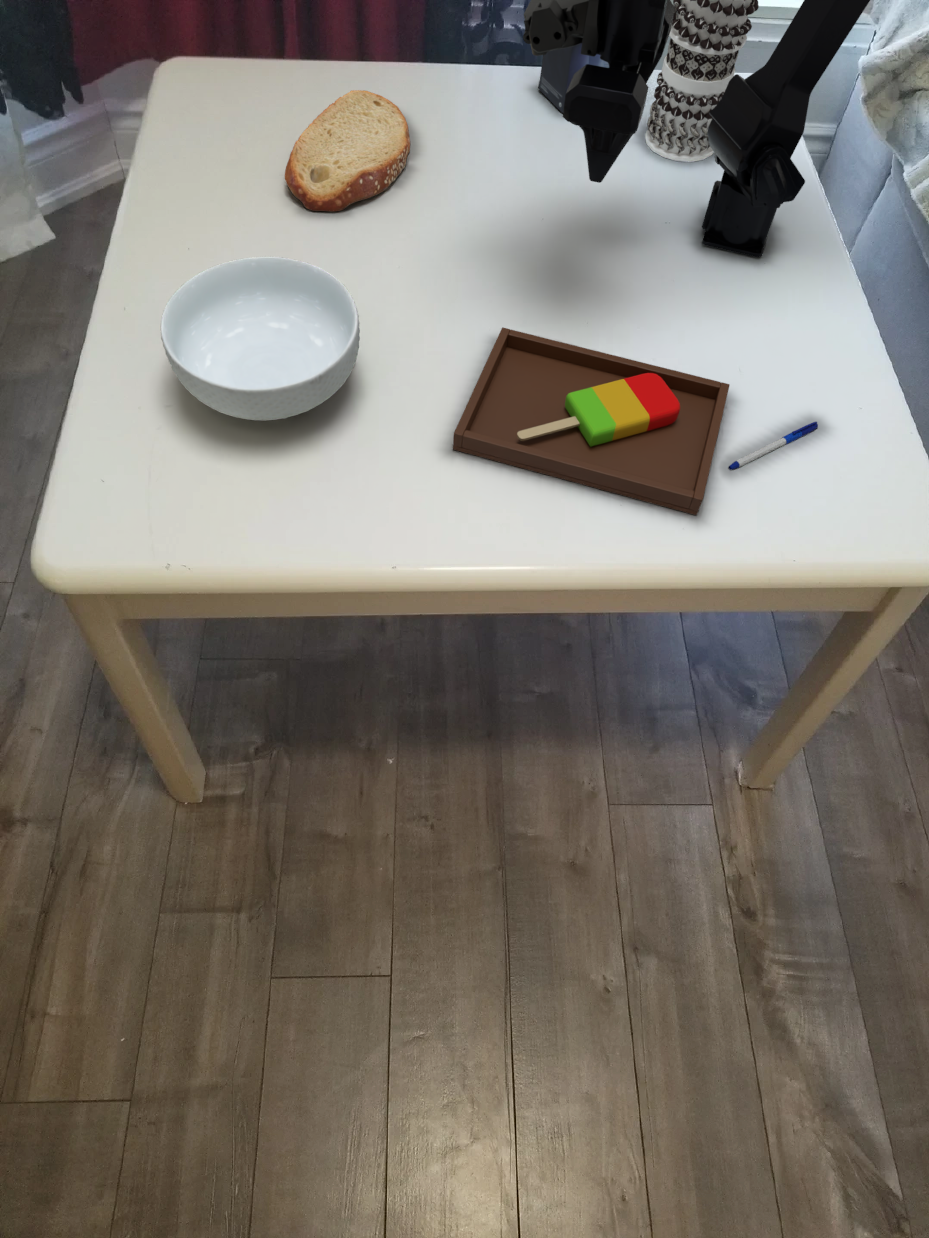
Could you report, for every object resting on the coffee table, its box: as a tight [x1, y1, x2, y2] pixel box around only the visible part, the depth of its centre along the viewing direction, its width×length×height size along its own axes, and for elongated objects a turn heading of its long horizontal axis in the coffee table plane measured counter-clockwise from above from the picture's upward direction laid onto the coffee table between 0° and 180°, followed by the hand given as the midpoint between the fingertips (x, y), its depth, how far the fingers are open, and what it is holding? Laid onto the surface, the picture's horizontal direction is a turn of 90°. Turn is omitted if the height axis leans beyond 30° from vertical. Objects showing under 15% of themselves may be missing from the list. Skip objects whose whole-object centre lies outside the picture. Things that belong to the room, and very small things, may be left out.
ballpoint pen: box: [728, 421, 819, 471], centre depth 81 cm, size 10×1×1 cm, turn 124°
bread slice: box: [284, 89, 411, 212], centre depth 102 cm, size 18×18×4 cm
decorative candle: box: [644, 0, 760, 163], centre depth 98 cm, size 9×9×25 cm
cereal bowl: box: [160, 256, 361, 422], centre depth 80 cm, size 17×17×7 cm
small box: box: [537, 43, 609, 113], centre depth 109 cm, size 11×6×10 cm, turn 117°
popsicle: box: [517, 373, 680, 447], centre depth 81 cm, size 6×15×2 cm, turn 112°
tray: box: [452, 327, 730, 516], centre depth 81 cm, size 22×15×2 cm
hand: (605, 154), depth 85 cm, fingers open, 9 cm apart
